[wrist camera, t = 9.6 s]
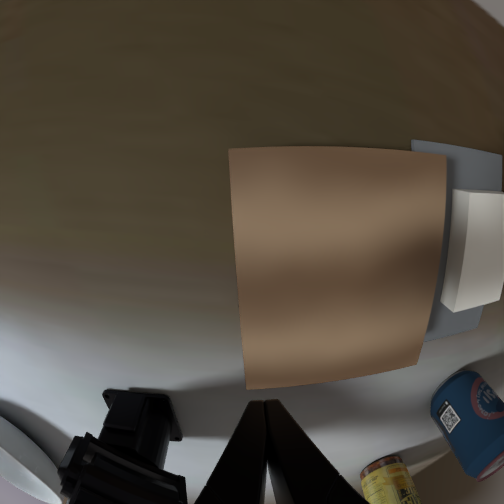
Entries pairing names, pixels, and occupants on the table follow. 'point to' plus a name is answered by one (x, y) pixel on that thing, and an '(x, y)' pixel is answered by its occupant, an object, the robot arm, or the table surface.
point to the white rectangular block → (474, 250)
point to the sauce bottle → (388, 483)
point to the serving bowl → (27, 465)
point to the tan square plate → (334, 259)
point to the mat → (458, 177)
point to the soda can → (471, 422)
